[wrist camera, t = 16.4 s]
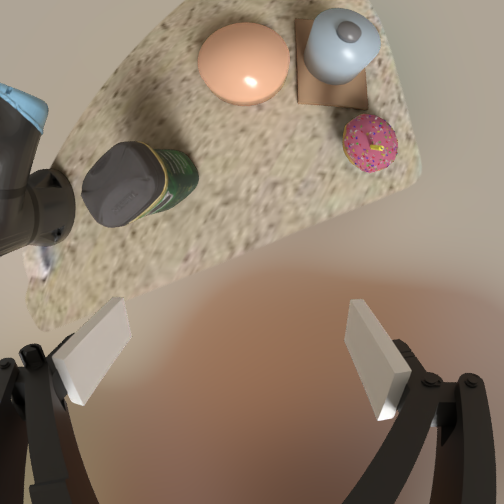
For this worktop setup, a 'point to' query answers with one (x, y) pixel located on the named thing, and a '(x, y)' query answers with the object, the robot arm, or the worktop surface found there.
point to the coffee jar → (136, 183)
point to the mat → (319, 91)
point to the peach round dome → (244, 63)
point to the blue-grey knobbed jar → (340, 46)
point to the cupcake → (369, 143)
